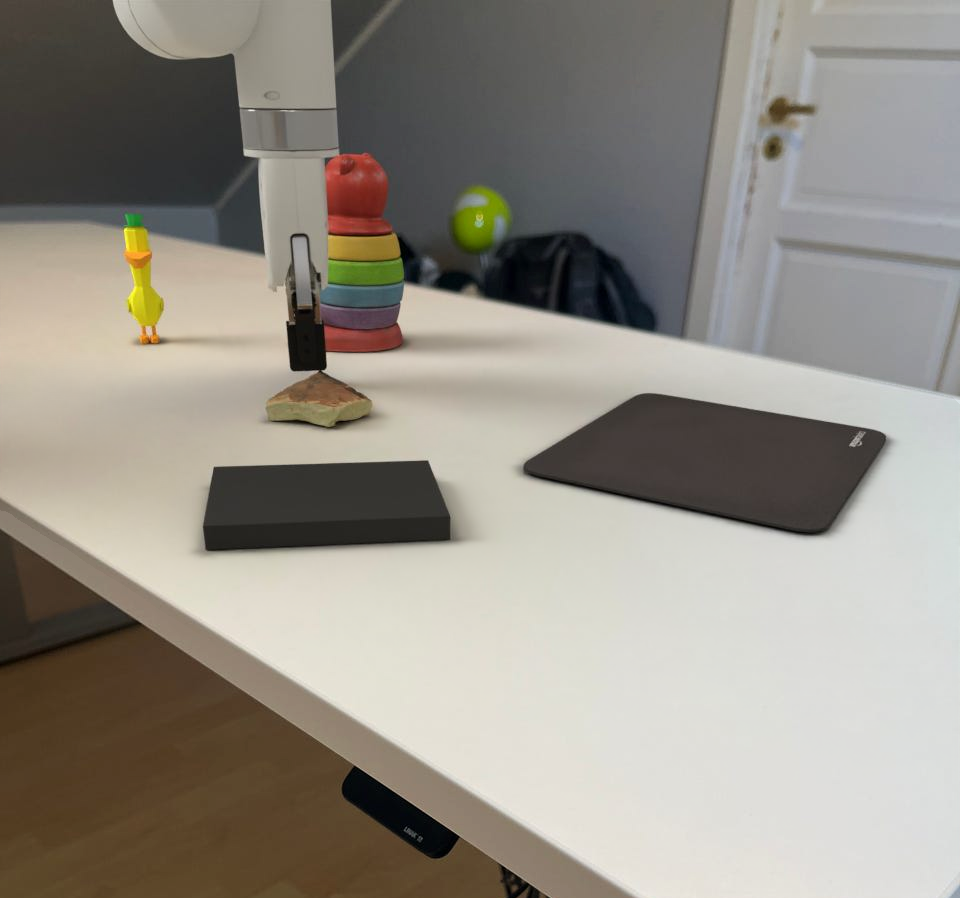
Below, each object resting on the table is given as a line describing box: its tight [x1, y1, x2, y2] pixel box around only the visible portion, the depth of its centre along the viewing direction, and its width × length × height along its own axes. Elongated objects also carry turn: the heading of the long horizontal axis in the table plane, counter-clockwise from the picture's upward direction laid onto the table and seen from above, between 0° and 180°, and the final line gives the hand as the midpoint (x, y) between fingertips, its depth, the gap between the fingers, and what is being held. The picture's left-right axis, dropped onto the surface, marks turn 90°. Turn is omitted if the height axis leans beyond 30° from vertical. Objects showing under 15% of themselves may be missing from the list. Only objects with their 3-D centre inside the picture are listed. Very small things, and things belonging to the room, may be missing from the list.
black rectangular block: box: [202, 459, 451, 551], centre depth 60 cm, size 14×10×2 cm
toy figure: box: [123, 213, 165, 345], centre depth 96 cm, size 7×4×12 cm, turn 14°
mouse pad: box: [522, 392, 887, 533], centre depth 73 cm, size 25×21×1 cm
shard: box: [264, 370, 373, 428], centre depth 80 cm, size 11×8×2 cm
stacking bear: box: [319, 152, 405, 353], centre depth 98 cm, size 11×10×18 cm
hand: (308, 368), depth 86 cm, fingers closed
